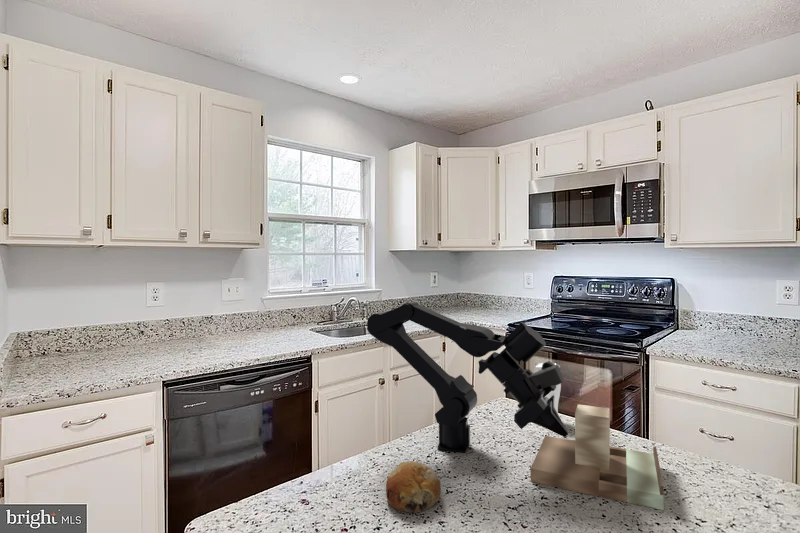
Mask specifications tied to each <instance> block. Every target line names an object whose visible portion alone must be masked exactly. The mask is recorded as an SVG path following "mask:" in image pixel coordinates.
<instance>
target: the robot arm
mask: <svg viewBox="0 0 800 533" xmlns="http://www.w3.org/2000/svg"><path fill="white" fill-rule="evenodd" d="M409 321H411V322H413V323H415V324H417V325H419V326H421V327H423V328H426V329H428V330H430V331H432V332H434V333H437V334H439V335H441V336H443V337H445V338H447V339H450V340H451V341H452V342H454V343H455V344H456V345H457V346H458V347H459V348H460V349H462V350H463V351H464V352H465V353H467V354H469V355H470V356H471V357H473V358H481V359H480V360H478V373H479V374H480V375H481V374H483V373H484V372H485V371H487V370H488V372H490V373H491V374H492V375H493V376H494V377H495V379H496V380H497V381H498V382H499V383H500V384H501V385H502V387H504V389H503V392H504V393H505V394H506V395H507V394H510V395H511V397H513V399H514V400H515V401H517V403H518V404H517V408H518V409H517V410H516V411H515V414H514V415H513V416H514V423H515V425H517V427H519V429H521V430H522V429H524V428H526V426H528V424H531V423H532V424H535V425H537V426H540V427H542V428H544V429H546V430H549V431H551V432H553V433H555V434H556V435H559V436H561V437H564V438H565V437H567V436H568V435H569V431H568V429H567V427H566V425H565V423H564V422H563V420H562V419H561V417H560V415H559V412H558V413H557V412H556V410H555V408H554V398H555V397H554V395H553V396H552V397H551V398H550V399H548V397H545V396H546V395H547V394H549V393H550V392H551V391H554V390H555V388H556V385H558V384H561V385H562V383H563V380H564V379H565V378H564V376H563V374H562V372H561V367H560V368H559V367H558V366H557V364H558V363H555V365H554V364H553V363H554V362H551V361H550V360H548V361H544V362H545V363H543V364H542V370H539V371H538V372H535V373H534V372H533V371H532V370H530V369H528V368H526V369H524V368H523V367H522V366H521V365H520V364H519V363H520V362H523V363H527V362H529V361H530V360H531V359H532V358H533V357H534V356H535V355H536V354H537V353H539V352H540V351H541V350H542V349H543V348H545V346H546V345H547V343H546V341H545V339H544V338H543V336H542V335H541V334H540V333H539V332H538V331H537V330H534V329H533V328H532V327H530V326H529V325H528V324H526V323H525V322H524V321H521V322H520V323H519V324H517V325H516V326H515V328H514V330H512V331H511V332H510V334H508V335H503V334H498V333H497V334H496V333H494V331H492V330H491V329H490V328H488V327H483V326H479V325H476V324H468V323H463V322H459V321H457V320H455V319H453V318H450V317H448V316H445V315H443V314H441V313H439V312H436V311H434V310H432V309H429V308H427V307H425V306H423V305H421V304H419V303H418V302H415V301H411V302H406V303H403V304H402V305H400V306H397V307H395V308H394V309H391V310H388V311H387V310H386V311H382V312H381V311H380V312H377V313H373V314H371V315H370V316H369V317H368V319H367V322H366V329H367V331H368V333H369V335H370V336H372V337H373V338H375V339H376V340H377V341H379V342H381V343H382V344H384V345H387V346H389V347H391V348H393V349H394V350H395V351H396V352H397V353H398V354H399V355H400V356H401V357H402V358H403V359H404V360H405V361H406V362H407V363H408V364H409V365H410V366H411V367H412V368H413V369H414V370H415V371H416V372H417V373H418V374H419V376H421V378H423V379H424V380H425V381H426V382H427V383H428V384H429V385H430V386H431V387H432V388H433V390H435V393H436V395H437V398H438V401H439V402H440V404H441V405H442V407H441V408H440V409H439V410H438V411H436V412H435V413H434V417H435V420H436V423H437V424H438V444H437V450H440V451H441V450H442V451H449V452H460V453H466V452H467V449H468V448H469V447H470V445H471V425H470V424H468V423H469V422H468V421H469V420H468V417H467V416H469V414H470V412H471V411H473V409H475V407H476V405H477V404H478V394H477V392H476V391H475V389H474V387H475V386H474V385H473V384H472V383H469V382H468V381H467V380H466V378H465V377H464V376H463V375H462V374H459V375H457V377H454V376H452V375H450V374H448V373H447V372H446V371H445V370H444V369H443V368H442V367H441V366H440V365H439V364H438V363H437V362H436V361H435V360H434V359H433V358H432V357H431V356H430V355H429V354H428V353H427V352H426V351H425V350H424V349H423V348H422V347H421V346H419V345H418V343H416V342H415V340H413V339H412V337H410V335H409V334H408V333H407V330H406V328H405V325H404V324H406V323H408V322H409ZM502 347H505V348H504V349H502ZM500 349H502V351H500V352H499V353H498V352H497V351H498V350H500ZM491 352H492V353H491ZM489 353H491V354H490V355H489V356H488V357H487V358H485V359H482V357H484V356H487V354H489Z"/></svg>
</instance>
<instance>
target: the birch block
mask: <svg viewBox="0 0 800 533" xmlns="http://www.w3.org/2000/svg"><path fill="white" fill-rule="evenodd" d="M610 414H611V413H610V408H608V407H602V406H601V407H600V406H595V405H593V406H592V405H586V404H577V405H576V409H575V413H574V429H575V430H574V441H575V464H580V465H585V466H590V467H595V468H601V469H606V470H609V462H610V447H611V437H610V435H611V434H610V432H611V431H610V430H611V429H610V428H611V427H610V425H611V423H610V421H611V420H610V418H611V416H610Z"/></svg>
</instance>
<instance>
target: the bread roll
mask: <svg viewBox="0 0 800 533" xmlns="http://www.w3.org/2000/svg"><path fill="white" fill-rule="evenodd" d="M385 489H386V490H385V492H386V493H385V496H386V500H387V503H388V504H389V505H390V506H391V507H392V508H393V509H395V510H397V511H400V512H405V513H419V512H423V511H426V510H429V509H430V508H432V507H433V506H435V504H437V503H438V501H439V500H440V498H441V481H440V478H439V476H438V474H437V473H436V472H435V471H434V470H433V469H432V468H431V467H430V466H428V465H426V464H425V463H422V462H419V461H413V460H411V461H410V460H409V461H402V462H399V464H398V466H397V467H395V468H394V469H393V470H392V471H391V472H389V474H388V475H387V478H386V483H385Z"/></svg>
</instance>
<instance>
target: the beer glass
mask: <svg viewBox="0 0 800 533" xmlns="http://www.w3.org/2000/svg"><path fill="white" fill-rule="evenodd" d="M545 362H546V361H544V362H542V361H541V362H540V361H539V362H535V363H534V364H533V366H534V368H533V373H535V372H538V371H539V370H542V364H543V363H545ZM552 363H553V364H554V365H555V364H557V366H558V367H559V368H560V369H561V365H560V364H558V363H555V362H552ZM561 388H562V383H561V384H558V385H556V388H555V390H554V391H551V392H550V393H549V394H547V395H546V396H545V397H548V399H550V398H551V397H552V396H553V395H554V397H555V398H554V408H555V410H556V412H557V413H558V414H559V409H558V408H559V401H560V394H561Z"/></svg>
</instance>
